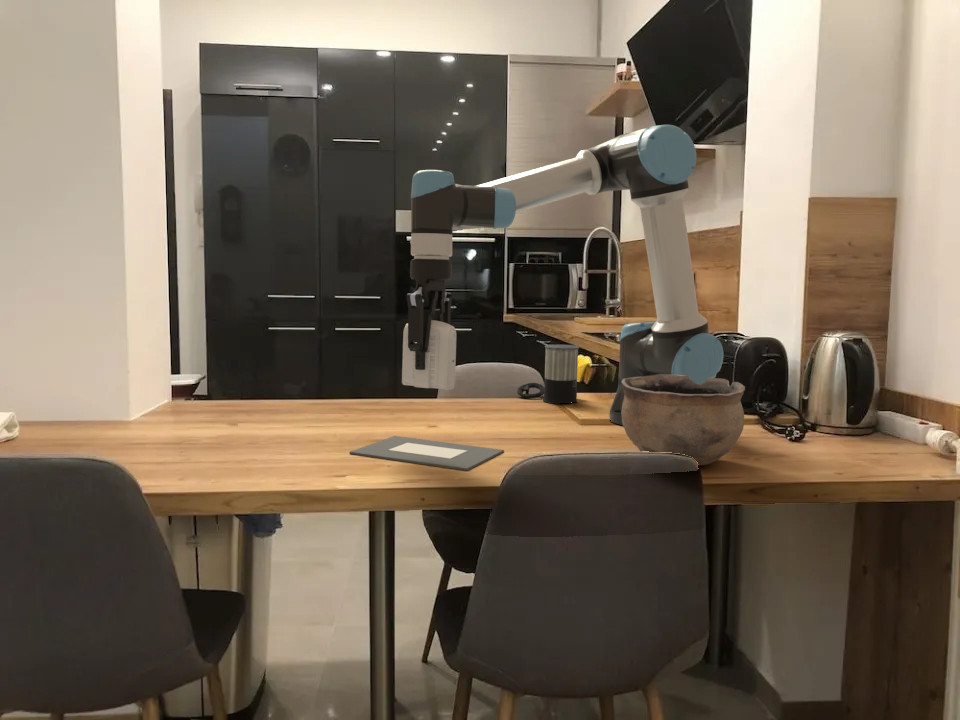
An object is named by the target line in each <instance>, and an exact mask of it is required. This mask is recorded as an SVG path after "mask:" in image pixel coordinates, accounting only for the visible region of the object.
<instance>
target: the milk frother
mask: <svg viewBox="0 0 960 720" xmlns="http://www.w3.org/2000/svg"><path fill="white" fill-rule="evenodd" d="M544 348H545V357H544V359H545V360H544V361H545V362H544V383H543V384H544V386H543V385H542V384H540V383H537V382H529V383H525V384H522V385H520V386H519V387H518V388H517V390H516V391H517V394H518V396H519V397H521V398H527V399H536V398H539V397H543V398H542V401H543V402H545V403H549V404H555V405H556V404H558V405H561V404H560V403H571V402H576V403H578V399H577V398H578V392H577V391H578V389H577V388H578V386H577V385H578V362H579V361H578V360H579V359H578V358H579V349H580V346H577V345H573V344H546V345H544ZM531 388H532V389H534V388H535V389H538V390H539V392H536V393H529V392H530V389H531Z"/></svg>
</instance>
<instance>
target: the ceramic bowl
mask: <svg viewBox="0 0 960 720" xmlns="http://www.w3.org/2000/svg"><path fill="white" fill-rule="evenodd" d="M621 383H622V387H623V391H624V400H623V404H622V411H621V414H622V424H623V425H622V426H623V428H624V431H625V434H626V436H627V437H628V438H629V440H630V441H631V443H632V444H633V445H634V446H635V447H637V449H638V450H639V451H640V452H641V451H649V452H672V453H680V454H685V455H688V456H691V457H693V458H694V459H695V460H696V461H697V462H698V464H699V466H706V465H710V464H713V463H714V462H716V461H718V460H719V459H721V458H722V457H723V456H725V455H726V454H728V453H729V451H730V450H731V449H732V448H733V447H734V446H735V445H736V444H737V442H738V440H739V438H740V437H741V435H742V433H743V430H744V426H745V412H744V408H743V405H742V402H741V399H742V397H743V395H744V393H745V391H746V386H745V385H743V384H742V382H741V383H740V382H739V381H733V382H731V385H730V381H729V380H728V379H726V378H719V377H717V378H716V377H715V378H713V377H712V378H707V380H706V381H705V382H703V383H702V384H697V383H695V382H693V381H692V380H691V379H690V378H689V376H688V375H675V374H657V375H651V376H643V377H631V378H627V379H622V381H621Z"/></svg>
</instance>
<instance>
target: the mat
mask: <svg viewBox="0 0 960 720" xmlns="http://www.w3.org/2000/svg"><path fill="white" fill-rule="evenodd" d="M504 452H505V450H504V449H500V448H493V447H491V448H490V447H484V446H478V445H475V446H474V445H468V444H462V443H454V442H453V443H452V442H446V441H439V440H438V441H437V440H431V439H423V438H413V437H406V436H398V435H393V436H391V437H388V438H384V439H382V440H380V441H376V442H374V443H371V444H368V445H365V446H362V447H359V448H357V449H353V450H351V451H349V454H350V455H356V456H361V457H362V456H363V457H367V458H368V457H369V458H376V459H383V460H390V461H397V462H404V463H413V464H417V465H423V466H431V467H439V468H446V469H451V470H453V469H454V470H457V471H458V470H459V471H469V470H472V469H473V468H475V467H478V466H479V465H481V464H483V463H485V462H487V461H489V460H491V459H493V458H496V457H497V456H498V455H501V454H503V453H504Z"/></svg>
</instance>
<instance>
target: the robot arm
mask: <svg viewBox="0 0 960 720" xmlns="http://www.w3.org/2000/svg"><path fill="white" fill-rule="evenodd" d="M696 165H697V150H696V147H695V144H694V141H693V140H692V138H691V136H690V135H689V134H688V133H687V132H685V131H684V130H683V129H682V128H680V127H678V126H676V125H673V124H661V125H660V124H659V125H651V126H649V127H646V128H642V129H639V130H634V131H632V132H627V133H623V134H620V135H618V136H615V137H613V138H611V139H609V140H607V141H604V142H601V143H600V144H597V145H595V146H593V147H589V148H586V149H583V150H580V151H579V152H577V154H576V156H575V157H572V158H569V159H565V160H562V161H558V162H555V163H551V164H548V165H543V166H541V167H537V168H534V169H530V170H527V171H526V170H525V171H523V172H519V173H516V174H511V175H509V176H506V177H505V176H504V177H502V178H498V179H494V180H492V181H489V182H487V181H486V182H485V183H481V184H477V185H464V184H463V185H462V184H459V183H455V180H454V174H453V173H452V171H451V172H450V171H446V170H440V169H439V170H438V169H425V170H424V169H423V170H418V171H416V172H415V173H414V174H413V176H412V180H411V181H412V182H411V192H410V204H411V205H410V206H411V207H410V208H411V209H410V210H411V211H410V213H411V214H410V215H411V219H410V221H411V222H410V223H411V225H410V228H411V229H410V231H411V232H410V235H411V236H410V240H409V243H410V255H411V256H412V257H413V259H411V260H410V267H409V271H410V272H409V274H410V275H409V277H410V278H411V280H415V281H416V285H415V288H414V292H413V293H407V294H406V301H407V302H406V303H407V307H408V309H407V323H408V348H409V350H410V351H415V386H414V388H419V389H420V388H424V389H431V388H430V352H427V351H428V344H429V336H430V328H431V320H436V321H441V322H444V323H447V324H450V325H451V322H452V321H451V318H452V317H451V316H452V315H451V313H452V303H453V297H454V296H453V293H452V292H447V291H446V286H445V281H450V280H451V279H452V275H453V273H452V271H453V269H452V267H453V265H452V264H453V263H452V261H451V260H450V257H452V256H453V233H454V232H456V231H460V230H473V229H494V230H496V229H507V228H509V227H510V226H511V225H512V224H513V222H514V220H515V217H516V214H518V213H520V212H524V211H527V210H531V209H533V208H536V207H541V206H544V205H547V204H551V203H554V202H557V201H561V200H563V199H567V198H570V197H574V196H578V195H581V194H584V193H586V195H589V196H594V195H598V194H600V193H606V192H612V191H625V190H626V191H627V190H629V193H630V199H631V202H633V203H634V204H635V205H637V206H638V207H639V209H640V214H641V215H640V216H641V222H642V227H643V229H642V230H643V235H644V241H645V249H646V254H647V261H648V267H649V275H650V279H651V280H650V281H651V286H652V293H653V301H654V307H655V313H656V321H651V322H650V321H647V322H630V323H626V324H624V325H623V326H622V327H621V331H620V337H619V361H618V362H619V363H618V387H617V390H616V393H615V395H614V398H613V400H612V403H611V406H610V409H609V415H608V416H609V417H610V419H611V421H610V422H611V423H613V424H617V425H621V426H623V424H622V414H621V411H622V404H623V400H624V391H623V387H622V383H621V381H622V379H627V378H631V377H643V376H651V375H657V374H675V375H688V376H689V378H690V379H691V380H692V381H693V382H695V383H697V384H702V383H703V382H705V381H706V380H707V378H712V377H713V378H716V377H717V374H718V373H719V372H720V371H721V369H722V365H723V362H724V349H723V345H722V342H721V341H720V340H719V339H717V337H716V336H715V335H713V334H711V333H710V329H709V323H708V319H707V318H706V317H705V316H703V315H702V314H701V313H700V312H699V306H698V301H697V300H698V299H697V293H696V292H697V291H696V285H695V279H694V271H693V264H692V256H691V249H690V242H689V236H688V229H687V222H686V221H687V220H686V214H685V209H684V208H685V207H684V201H683V199H684V197H685V196H686V194H687V193H688V191H689V189H690V187H689V180H688V179H689V178H690V177H691V176H692V175H693V173H694V169H695V168H696ZM609 417H608V418H609Z"/></svg>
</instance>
